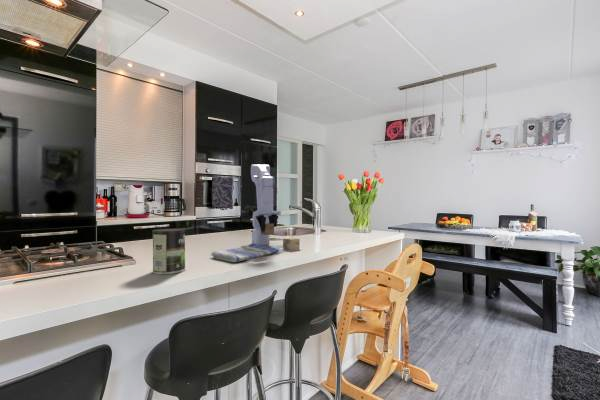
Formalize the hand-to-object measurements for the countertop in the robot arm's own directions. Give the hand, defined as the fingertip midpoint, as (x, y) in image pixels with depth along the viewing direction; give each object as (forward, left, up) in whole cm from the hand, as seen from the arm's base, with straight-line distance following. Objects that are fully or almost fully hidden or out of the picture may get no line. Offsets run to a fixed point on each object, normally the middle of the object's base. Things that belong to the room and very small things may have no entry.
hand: (267, 231), depth 143 cm
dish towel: (+6, -15, -9) cm, 19 cm away
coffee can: (+10, -48, -9) cm, 50 cm away
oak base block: (+8, +8, -8) cm, 14 cm away
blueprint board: (+4, +4, -9) cm, 11 cm away
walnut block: (0, 0, -2) cm, 2 cm away
